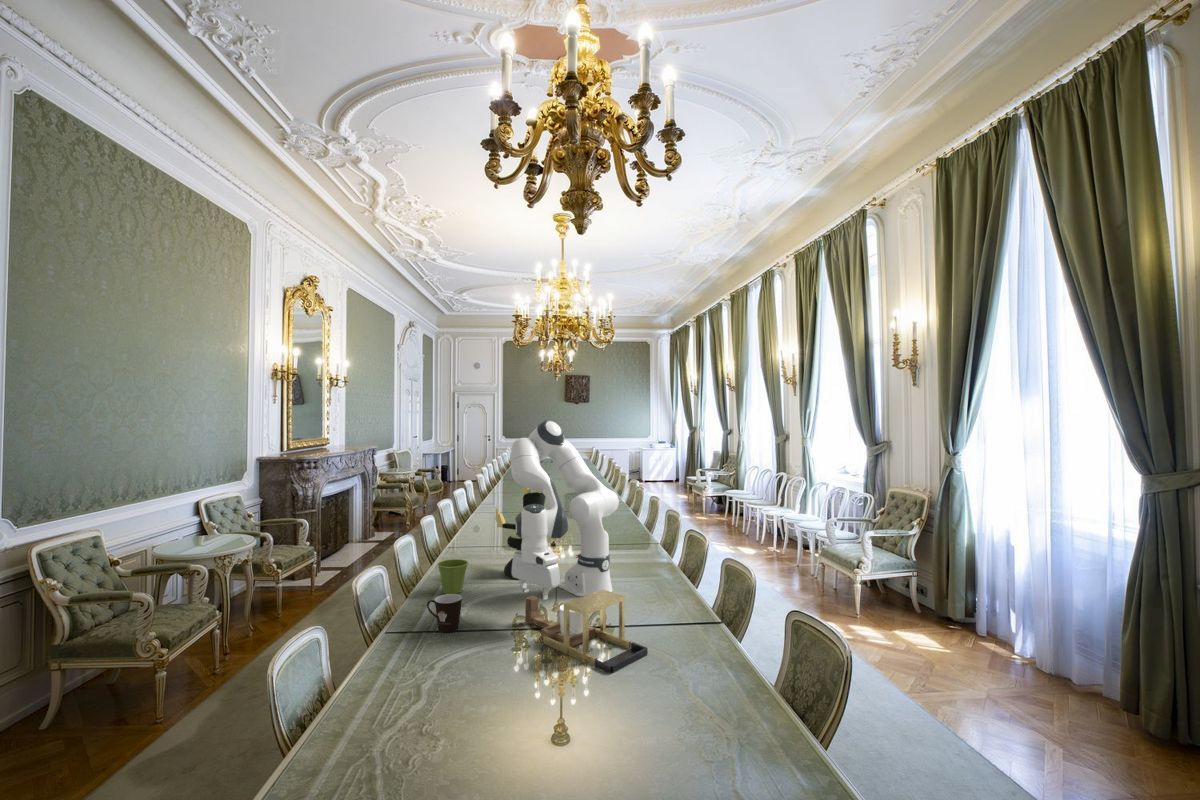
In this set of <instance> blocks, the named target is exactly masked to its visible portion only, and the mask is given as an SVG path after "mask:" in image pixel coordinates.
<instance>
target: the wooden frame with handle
mask: <svg viewBox="0 0 1200 800" xmlns="http://www.w3.org/2000/svg"><path fill="white" fill-rule="evenodd" d="M524 614H525V616H524V619H525V623H526V624H529V625H533V624H535V625H537V626H540V627H542V628H541V629H540V638H542V639H543V637H545V636H547V637H549V638H552V639H554V640H556V641H559V642H561V643H563V644H564V637H563V636H561V634H558V633H561V630H560V621H559V622H557V623H554V622H552V621H550V620H547V619H545V618H542V617H539V598H538V597H536V596H533V595H531V596H527V597H526V598H525V613H524ZM592 627H593V626H592ZM592 627H589V640H591V639H593V638H595V637H596V636H595V628H596V627H594V628H592ZM580 644H583V632H582V633H580V634H577V635H575V636H572V637H570V638H569V646H570V647H573V648H574V647H575V646H577V645H580Z"/></svg>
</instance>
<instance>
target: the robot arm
mask: <svg viewBox="0 0 1200 800" xmlns="http://www.w3.org/2000/svg"><path fill="white" fill-rule="evenodd" d="M547 457H548V458H550V459H551V460H552V461H553V465H554V466H555V468H556V470H557V471H558V473H559V475H560V478H562V480H563V482H564V483H565V485H566V487H567V489H569V490H571V491H573V492H575V493H576V494H577V496H575V497H574V498H572V499H571V501H570V502H569V506H568V511H569V515H570V516H571V518H572V519H573V520H574V522H575V523H577V526H578V530H579V537H580V553H579V554H575V559H577V561H576V563H575V564H573V565H572V566H571V567H569V568H568V569H567V570H566V571H565V575H564V580H562V581H560V576H561V575H560V567H559V564H558V563H559V562H560V557H559V555H558V554H557V553H555V552H553V551H552V550H551V549H550V548H549V544H548V540H547V539H561V538H562V537H564V535H566V534H567V532H568V531H569V520H568V519H569V518H568V517H567V514H566V511H565V509H564V507H563V505H562V502H561V500H560V496H559V493H558V490H557V488H556V484H555V483H554V480H553V477H552V476H551V475H552V474H550V473H548V472H546V471H545V469H544V468H543V467H542V465H541V463H542V462H544V460H545V459H546V458H547ZM582 457H583V456H581V453H579V451H578V450H577V448H576V447H575V446H574V445H573V444H572V443H571V442H570V440H567V439H566V437H565V435H564V431H563V429H562V428H561V426H560V425H559V424H558V422H555V420H554V421H553V420H550V419H546V420H544V421H542V422H540V423H539V424H538V426H536V428H535V429H534V430H533V431H532V432H531V433H530V434H529V436H528V437H520V438H518V439H516V440H514V441H513V443H512V445H511V450H510V471H511V476H512V479H513V480H514V482H516V484H518V485H520V486H521V487H522V486H523V487H527V488H531V490H535V491H536V490H537V491H540V492H541V493H543V494H544V495H545V500H546V502H547V505H548V508H549V509H547V508H546V507H545V505H544V506H542V505H539V504H530V505H527V506H525V507H524V508H523V507H522V508H523V509H522V511H520V512H519V513H518V514H517V515H516V516H515V517H514V518H515V519H514V520H515V524H516V530H514V532H515V534H516V535H517V536H519V537H520V538H522V544H521V551H520V550H517V549H516V550H515V551H514V553H513V557H514V558H513V557H512V558H513V561H512V572H511V573H512V576H513V577H514V578H513V579H518V580H519V585H520V587H521V593H523V594H528V593H529V589H530V588H529V587H528V584H527V583H530V584H533V585H537V586H540V587H542V589H543V592H541V593H540V600H544V601H545V600H548V598H549V592H550V590H551V589H554V588H557V587H558V588H559V589H560V588H561V589H562V590H565V591H566V592H568V593H570V594H572V595H575V597H583V596H586V595H589V594H592V593H594V592H597V591H600V590H606V591H610V592H614V591H613V587H612V580H611V574H610V562H611V557H610V556H611V555H610V553H609V552H610V551H609V547H610V545H609V544H610V543H609V542H610V540H609V533H608V531H606V530H605V529H604V525H603V522H602V521H603V519H602V518H605V517H608V516H610V515H611V514H613V513H614V512H616V511H617V510H618V507H619V505H620V500H619V496H618V494H617V493H616V492H615V491H614V490H612V489H609V488H608V487H606V486H605V485H604V484H603V483H602V482H601V481H600V480H599V479H598V478H597V477H596V476H595V475H594V473H593V472H592V471H591V470H590V468H589V467H588V465H587V464H586V462H585V461H584V459H583V458H582ZM537 491H536V492H537Z"/></svg>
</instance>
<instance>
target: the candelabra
mask: <svg viewBox="0 0 1200 800" xmlns="http://www.w3.org/2000/svg"><path fill="white" fill-rule="evenodd" d="M521 487H522V488H521V490H522V493H524V494H523V497H522V508H524V507H525V506H527V505H530V504H539V505H542V506H544V507H545V503H546V502H545V501H546V497H545V495H544V494H543V493H541V492H540V491H537V490H535V492H531V491H532V489H531V488H527V487H523V486H521ZM495 522H496V524H497V525H496V527H497V528H503V529H507V530H514V532H513V533H512V534H510V536H508V538H507V540H506V542H507V545H508V547H510V548H512V549H514V550H516V551H517V550H520V551H521V544H522V538H520V537H519V536H517V535H516V534H515V530H516V523H509V522H506V519H505V517H504V515H503V514H502V513H501V512H500V511H499V510H498V509H497V508H495ZM513 558H514V556H513V557H512V558H511V559H510V560H509V561H508V562H507V563H506V564H505V566H504V568H503V574H504V575H506V576H507V577H508V578H512V579H515V578H514V577H513V576H512V573H511V572H512V561H513Z"/></svg>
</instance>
